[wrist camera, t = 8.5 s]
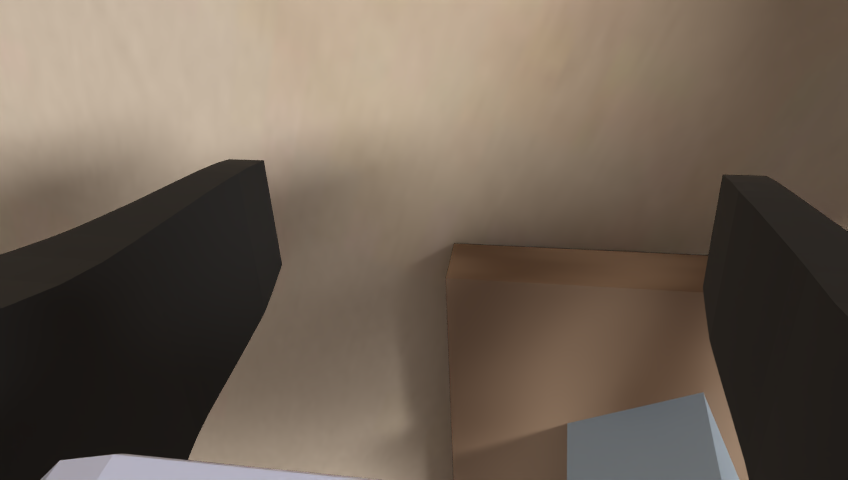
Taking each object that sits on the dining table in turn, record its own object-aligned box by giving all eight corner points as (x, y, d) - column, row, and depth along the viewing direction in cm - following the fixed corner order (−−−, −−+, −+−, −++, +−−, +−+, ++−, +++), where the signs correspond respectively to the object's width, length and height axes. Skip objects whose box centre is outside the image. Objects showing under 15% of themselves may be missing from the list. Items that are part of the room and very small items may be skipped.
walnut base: (922, 265, 23) (950, 306, 21) (816, 561, 30) (830, 608, 28) (454, 243, 25) (445, 278, 23) (462, 523, 32) (456, 565, 30)
